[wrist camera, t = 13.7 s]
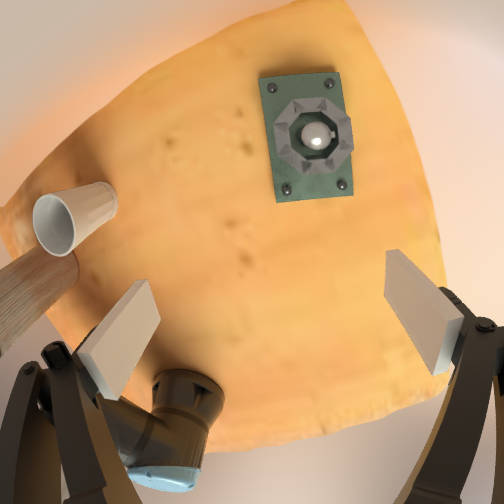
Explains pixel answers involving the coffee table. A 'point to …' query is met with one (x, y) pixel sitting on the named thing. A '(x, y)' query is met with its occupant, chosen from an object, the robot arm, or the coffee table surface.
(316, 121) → the shaft stand
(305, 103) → the ring
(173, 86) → the coffee table surface
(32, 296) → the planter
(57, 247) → the cup
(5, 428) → the robot arm
